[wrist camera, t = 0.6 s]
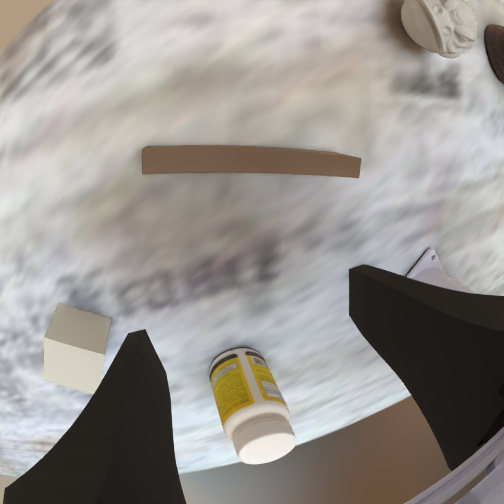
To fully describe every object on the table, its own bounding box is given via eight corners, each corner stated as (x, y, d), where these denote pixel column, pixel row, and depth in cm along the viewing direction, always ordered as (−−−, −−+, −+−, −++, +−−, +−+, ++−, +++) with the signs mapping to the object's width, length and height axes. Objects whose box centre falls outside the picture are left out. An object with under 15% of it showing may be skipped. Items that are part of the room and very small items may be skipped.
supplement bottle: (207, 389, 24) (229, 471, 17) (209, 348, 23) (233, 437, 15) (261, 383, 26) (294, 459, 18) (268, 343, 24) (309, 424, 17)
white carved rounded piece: (362, -1, 15) (428, -27, 9) (417, -9, 15) (477, -25, 9) (397, 69, 18) (469, 65, 12) (445, 52, 18) (508, 49, 12)
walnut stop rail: (334, 170, 20) (358, 178, 17) (146, 167, 17) (142, 174, 14) (335, 152, 19) (361, 158, 17) (146, 146, 16) (142, 149, 13)
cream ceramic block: (111, 317, 20) (104, 354, 16) (104, 357, 21) (99, 395, 17) (59, 302, 18) (44, 337, 15) (56, 344, 19) (44, 380, 16)
